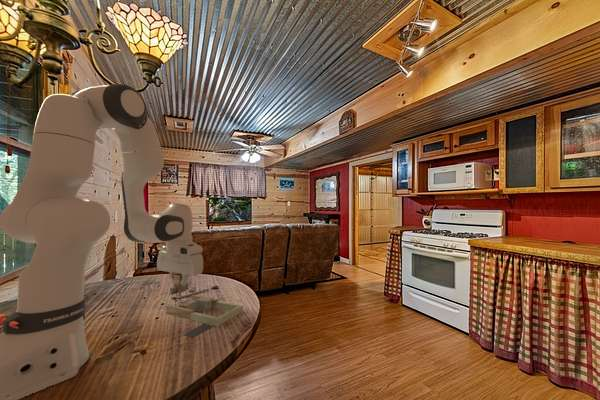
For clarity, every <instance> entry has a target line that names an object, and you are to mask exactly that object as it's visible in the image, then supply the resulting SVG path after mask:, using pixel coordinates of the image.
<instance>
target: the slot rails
mask: <svg viewBox="0 0 600 400" xmlns="http://www.w3.org/2000/svg"><path fill="white" fill-rule="evenodd" d="M190 297H191V298H190V300H193V301H196V300H197V299H199V298H202V297H204V295H203V296H202V295H198V294H196V295H192V296H190ZM212 298H213V297H212ZM217 301H219V299H218V298H213V306H212V308H215V309H216V302H217ZM193 312H194V310H192V309H188V308H183V307H179V306H178V305H173V304H166V305H165V314H167V315H171V316H176V317H180V318H183V319H188V320H191V313H193Z"/></svg>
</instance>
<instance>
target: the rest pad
mask: <svg viewBox="0 0 600 400" xmlns="http://www.w3.org/2000/svg"><path fill="white" fill-rule="evenodd" d="M213 327H214V325H211V324H207V323H202V324H200V325H199V326H196V327H195V328H193V329H191V330H190V331H187V332H185V333H184V334H183V336H184V337H187V338H190V339H191V338H192V339H194V338H195V337H198V336H199V335H201V334H202V333H205V332H206V331H208V330H210V329H211V328H213Z"/></svg>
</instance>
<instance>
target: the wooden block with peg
mask: <svg viewBox="0 0 600 400" xmlns="http://www.w3.org/2000/svg"><path fill="white" fill-rule="evenodd" d="M182 278H183V277H182V274H180V273H176V274H174V284H173V287H170V289H169V290H170V291H169V292H170V293H169V294H170V295H175V294H176V295H177V294H181V293H184V292H185V291H186V290H188V289H189V283H188V282H187V284H186V285H184V286H182V285H180V281H181V280H182Z"/></svg>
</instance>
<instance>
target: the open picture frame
mask: <svg viewBox="0 0 600 400" xmlns="http://www.w3.org/2000/svg"><path fill="white" fill-rule="evenodd" d="M216 308H217V309H221V310H226V312H224V313H223V314H222V315H219V316H213V315H209V314H205V313H199V312H196V311H195V312H193V313H191V319H190V320H191V321H195V322H199V323H202V324H207V325H211V326H215V327H219V326H220V325H222V324H224V323H226V322H227V321H230V320H231V319H232V318H234V317H236V316H237V315H239V314H241V313H243V312H244V305H243V304H237V303H231V302H227V301H221V300H218V301H217V302H216ZM216 308H215V309H216Z"/></svg>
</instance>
